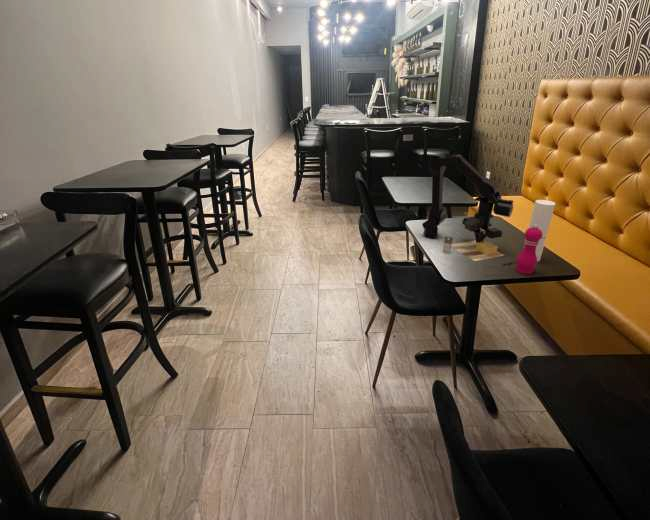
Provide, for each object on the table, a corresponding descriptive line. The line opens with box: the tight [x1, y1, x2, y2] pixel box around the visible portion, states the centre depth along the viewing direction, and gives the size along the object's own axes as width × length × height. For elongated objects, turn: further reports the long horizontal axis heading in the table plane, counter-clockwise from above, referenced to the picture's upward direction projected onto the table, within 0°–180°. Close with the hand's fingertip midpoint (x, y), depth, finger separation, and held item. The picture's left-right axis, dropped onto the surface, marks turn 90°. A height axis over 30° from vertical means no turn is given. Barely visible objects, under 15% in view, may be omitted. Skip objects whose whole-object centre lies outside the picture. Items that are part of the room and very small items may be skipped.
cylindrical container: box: [523, 199, 556, 263], centre depth 162 cm, size 7×7×25 cm
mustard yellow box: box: [476, 240, 499, 256], centre depth 169 cm, size 7×5×4 cm
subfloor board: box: [451, 239, 505, 262], centre depth 171 cm, size 18×16×2 cm
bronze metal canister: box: [442, 235, 453, 254], centre depth 168 cm, size 3×3×8 cm
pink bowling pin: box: [515, 224, 542, 275], centre depth 152 cm, size 7×7×20 cm
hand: (477, 245), depth 173 cm, fingers closed
